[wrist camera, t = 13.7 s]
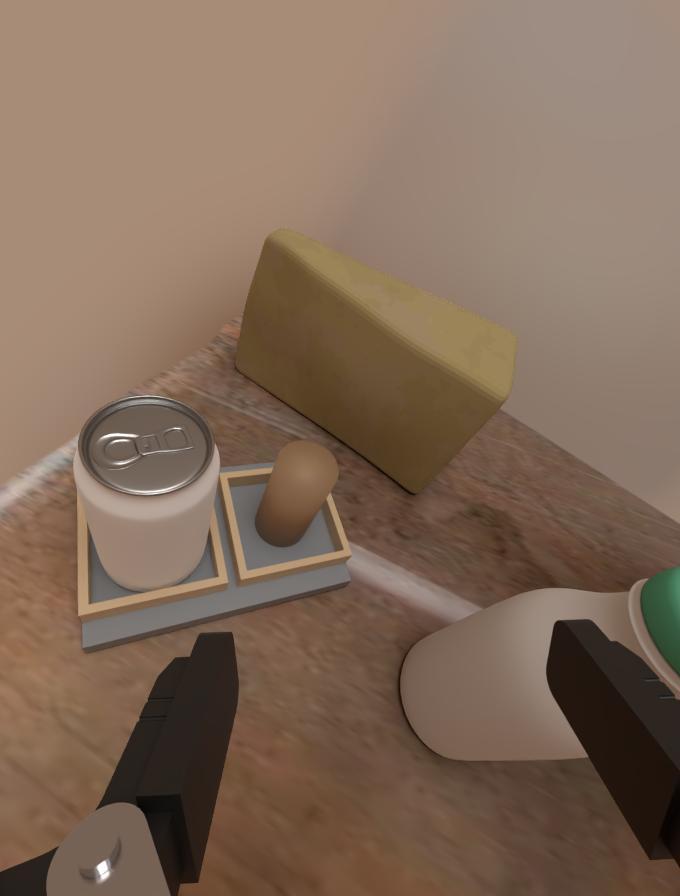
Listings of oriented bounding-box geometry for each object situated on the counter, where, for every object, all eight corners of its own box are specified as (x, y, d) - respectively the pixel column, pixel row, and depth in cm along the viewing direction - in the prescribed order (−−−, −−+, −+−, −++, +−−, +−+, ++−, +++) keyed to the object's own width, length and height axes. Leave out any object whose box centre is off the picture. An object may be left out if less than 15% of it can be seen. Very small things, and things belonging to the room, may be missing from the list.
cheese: (209, 392, 39) (228, 241, 28) (258, 341, 45) (290, 200, 34) (416, 502, 39) (517, 397, 28) (436, 435, 46) (525, 328, 34)
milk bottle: (429, 784, 26) (790, 816, 11) (378, 658, 30) (600, 551, 15) (511, 728, 30) (866, 695, 15) (457, 622, 33) (700, 506, 18)
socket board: (306, 467, 37) (339, 397, 30) (345, 586, 32) (396, 536, 25) (84, 492, 30) (58, 406, 23) (86, 653, 24) (53, 608, 17)
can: (89, 519, 27) (52, 399, 18) (188, 492, 31) (198, 379, 22) (113, 612, 25) (83, 525, 16) (218, 571, 28) (244, 480, 19)
